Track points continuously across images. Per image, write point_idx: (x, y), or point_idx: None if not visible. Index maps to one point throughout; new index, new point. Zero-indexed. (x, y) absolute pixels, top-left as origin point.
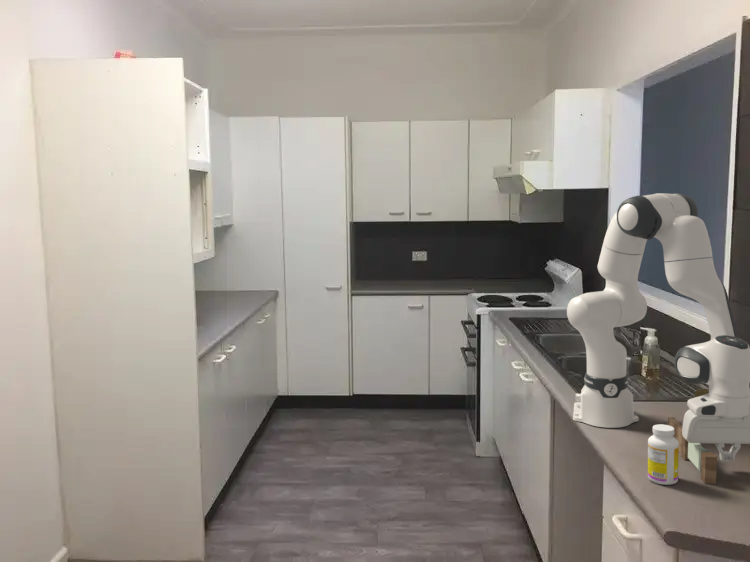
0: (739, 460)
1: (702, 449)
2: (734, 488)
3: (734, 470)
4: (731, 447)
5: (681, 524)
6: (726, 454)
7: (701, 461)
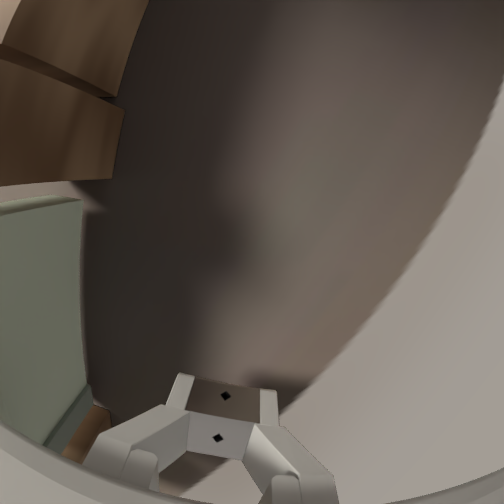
0: (409, 229)
1: None
2: (167, 475)
3: (274, 364)
4: (277, 449)
5: None
6: (196, 450)
7: None
